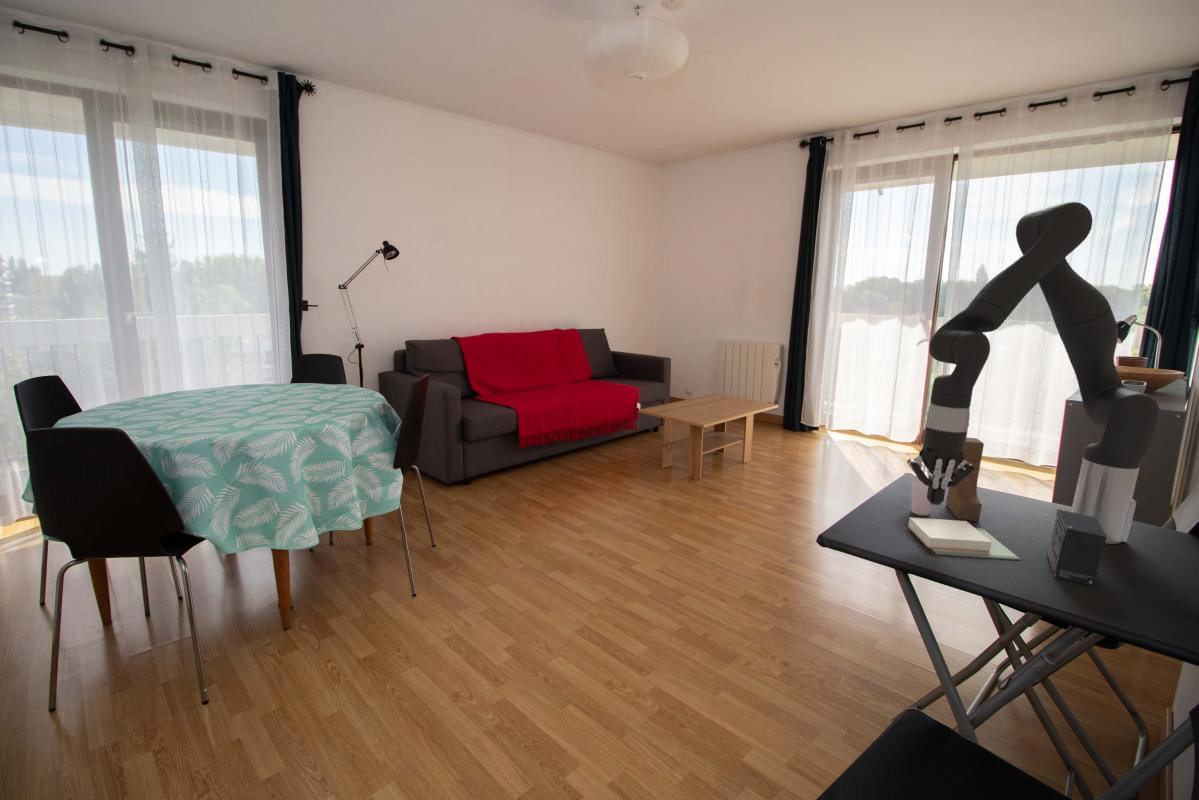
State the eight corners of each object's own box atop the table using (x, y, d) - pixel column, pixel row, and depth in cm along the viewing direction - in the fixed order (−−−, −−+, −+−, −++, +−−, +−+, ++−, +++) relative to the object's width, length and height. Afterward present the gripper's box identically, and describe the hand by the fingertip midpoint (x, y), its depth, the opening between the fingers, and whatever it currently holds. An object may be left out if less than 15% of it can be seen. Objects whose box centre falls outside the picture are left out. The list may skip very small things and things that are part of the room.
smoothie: (910, 504, 140) (918, 451, 137) (938, 512, 136) (947, 457, 132) (901, 511, 136) (909, 457, 132) (930, 520, 131) (939, 463, 128)
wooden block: (979, 522, 131) (992, 448, 127) (957, 519, 132) (970, 447, 128) (965, 507, 139) (977, 438, 135) (945, 504, 140) (956, 436, 136)
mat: (982, 529, 127) (982, 528, 127) (1019, 560, 113) (1020, 558, 113) (907, 524, 128) (908, 523, 128) (936, 554, 115) (936, 553, 115)
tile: (908, 527, 127) (964, 530, 125) (928, 548, 117) (989, 552, 116) (909, 517, 126) (966, 521, 125) (929, 537, 116) (991, 541, 115)
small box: (1097, 588, 103) (1109, 536, 101) (1052, 578, 107) (1063, 527, 104) (1086, 564, 112) (1097, 515, 110) (1045, 555, 116) (1055, 508, 113)
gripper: (970, 422, 119) (958, 498, 123) (905, 419, 120) (894, 495, 124) (990, 432, 111) (976, 512, 115) (920, 429, 113) (909, 508, 117)
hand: (934, 503), depth 120 cm, fingers closed
